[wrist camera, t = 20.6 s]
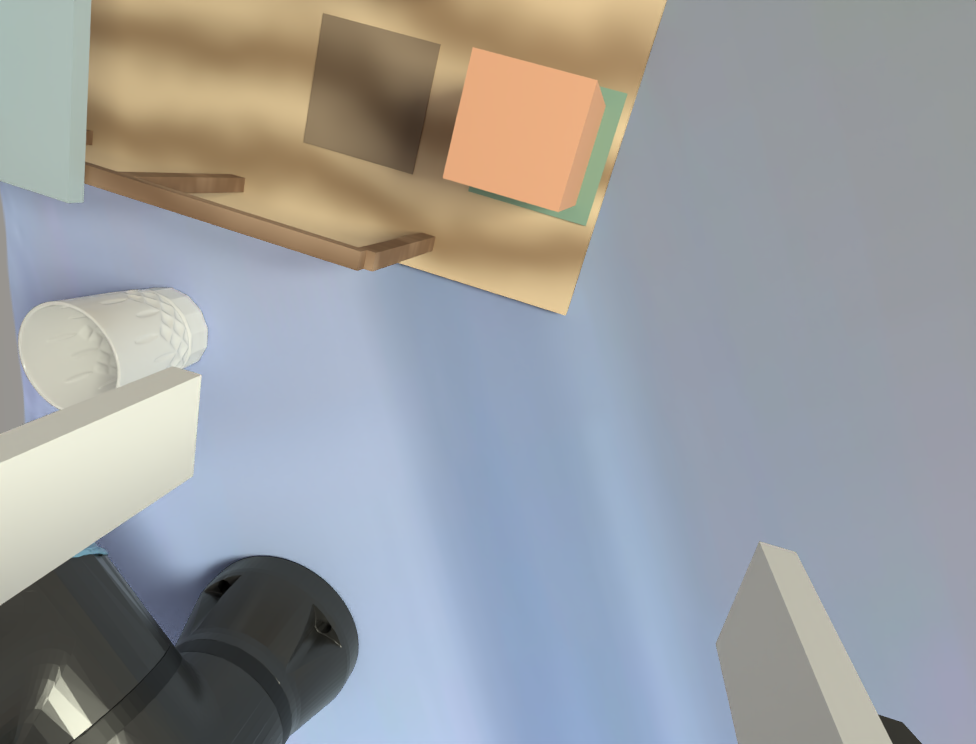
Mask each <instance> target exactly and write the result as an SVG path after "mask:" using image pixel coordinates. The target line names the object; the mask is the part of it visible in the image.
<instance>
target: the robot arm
mask: <svg viewBox="0 0 976 744" xmlns="http://www.w3.org/2000/svg"><path fill="white" fill-rule="evenodd" d="M200 387H201V375H200V374H197V373H194V372H190V371H187V370H184V369H180V368H177V367H174V366H172V367H169V368H167V369H164V370H162V371H159V372H156V373H154V374H151V375H149V376H146V377H144V378H141V379H138V380H136V381H133V382H131V383H128V384H126V385H123V386H120V387H118V388H115V389H113V390H110V391H108V392H105V393H103V394H100V395H97V396H95V397H92V398H90V399H87V400H85V401H82V402H79V403H77V404H74V405H72V406H69V407H67V408H64V409H62V410H59V411H56V412H54V413H51V414H49V415H46V416H44V417H41V418H38V419H36V420H33V421H31V422H28V423H26V424H23V425H21V426H18V427H15V428H13V429H10V430H8V431H5V432H3V433H0V744H285V743H286V741H287V740H288V738H289V736H290V735H292V734H293V733H294V732H295V731H296V730H298V729H299V728H300V727H301V726H302V725H304V724H305V723H306V722H307V721H308V720H310V719H311V718H312V717H313V716H314V715H316V714H317V713H318V712H319V711H320V710H322V709H323V708H324V707H325V706H326V705H328V704H329V703H330V702H331V701H332V700H333V699H334V698H335V697H336V696H337V695H338V693H339V692H340V691H341V690H342V688H343V686H344V685H345V683H346V681H347V679H348V678H349V676H350V674H351V673H352V671H353V669H354V666H355V664H356V661H357V657H358V645H359V644H358V635H357V630H356V626H355V623H354V621H353V618H352V616H351V614H350V612H349V610H348V608H347V606H346V605H345V603H344V602H343V600H342V599H341V598H340V596H339V595H338V594H337V593H336V592H335V590H334V589H333V588H332V587H331V586H330V585H329V584H328V583H326V582H325V581H324V580H323V579H322V578H320V577H319V576H318V575H316V574H315V573H313V572H312V571H310V570H308V569H307V568H305V567H303V566H301V565H298V564H296V563H294V562H291V561H288V560H284V559H280V558H275V557H266V556H258V557H250V558H245V559H242V560H239V561H237V562H235V563H233V564H231V565H229V566H228V567H226V568H225V569H224V570H223V571H222V572H221V573H220V574H219V575H218V576H217V577H216V578H214V579H213V580H212V581H211V582H210V583H209V584H208V585H207V587H206V588H205V589H204V590H203V592H202V593H201V595H200V596H199V598H198V600H197V602H196V604H195V606H194V608H193V611H192V613H191V615H190V617H189V619H188V621H187V623H186V625H185V627H184V629H183V631H182V633H181V635H180V637H179V639H178V641H177V643H176V645H175V647H174V645H173V644H172V643H171V641H170V640H169V638H168V637H167V636H166V634H165V633H164V632H163V630H162V629H161V628H160V626H159V625H158V624H157V623H156V621H155V620H154V619H153V617H152V616H151V615H150V613H149V612H148V611H147V609H146V608H145V607H144V605H143V604H142V603H141V601H140V600H139V598H138V597H137V596H136V594H135V593H134V592H133V590H132V589H131V588H130V586H129V585H128V584H127V582H126V581H125V580H124V578H123V577H122V576H121V574H120V573H119V571H118V570H117V569H116V567H115V566H114V565H113V563H112V562H111V561H110V559H109V558H108V557H107V556H108V552H107V551H106V550H105V549H103V548H101V547H99V546H98V545H97V544H96V543H95V542H96V541H97V540H99V539H100V538H101V537H103V536H104V535H106V534H107V533H109V532H110V531H112V530H113V529H115V528H116V527H118V526H119V525H121V524H122V523H124V522H125V521H127V520H128V519H130V518H131V517H133V516H134V515H136V514H137V513H139V512H140V511H142V510H143V509H145V508H146V507H148V506H149V505H151V504H152V503H154V502H155V501H157V500H158V499H160V498H161V497H163V496H164V495H166V494H167V493H169V492H170V491H172V490H173V489H175V488H176V487H178V486H179V485H181V484H182V483H184V482H185V481H187V480H188V479H190V478H191V477H193V471H194V459H195V447H196V435H197V423H198V411H199V399H200ZM716 647H717V652H718V656H719V661H720V665H721V670H722V674H723V679H724V683H725V688H726V692H727V696H728V701H729V705H730V710H731V714H732V719H733V723H734V728H735V732H736V737H737V741H738V744H922V743H921V742H920V741H919V740H918V739H917V738H916V737H915V736H914V735H913V733H912V732H911V731H910V730H909V729H908V728H907V727H906V726H905V725H904V724H903V722H899V721H896V720H893V719H890V718H887V717H884V716H881V715H878V714H877V712H876V710H875V708H874V706H873V704H872V702H871V700H870V698H869V696H868V694H867V692H866V690H865V688H864V686H863V684H862V682H861V680H860V678H859V676H858V674H857V672H856V670H855V668H854V666H853V664H852V662H851V660H850V658H849V656H848V654H847V652H846V650H845V648H844V646H843V644H842V642H841V640H840V639H839V637H838V635H837V633H836V631H835V629H834V627H833V625H832V623H831V621H830V619H829V617H828V615H827V613H826V611H825V609H824V607H823V605H822V603H821V601H820V599H819V597H818V595H817V593H816V591H815V589H814V587H813V585H812V583H811V581H810V579H809V577H808V575H807V573H806V571H805V569H804V567H803V565H802V563H801V561H800V559H799V557H798V555H797V553H796V552H793V551H790V550H787V549H783V548H780V547H776V546H773V545H770V544H766V543H763V542H760V541H759V543H758V546H757V548H756V550H755V553H754V555H753V557H752V560H751V562H750V564H749V567H748V569H747V571H746V574H745V576H744V579H743V581H742V583H741V586H740V588H739V590H738V593H737V595H736V597H735V600H734V602H733V604H732V607H731V609H730V611H729V614H728V616H727V618H726V621H725V623H724V625H723V628H722V630H721V633H720V635H719V637H718V640H717V642H716Z"/></svg>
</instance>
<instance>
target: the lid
mask: <svg viewBox="0 0 976 744" xmlns="http://www.w3.org/2000/svg"><path fill="white" fill-rule="evenodd" d="M90 23H91V0H0V181H2V182H5V183H8V184H11V185H14V186H17V187H20V188H23V189H26V190H29V191H32V192H35V193H38V194H42V195H45V196H48V197H51V198H54V199H57V200H60V201H63V202H66V203H83V201H84V176H85V150H86V125H87V99H88V74H89V48H90Z"/></svg>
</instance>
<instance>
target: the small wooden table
mask: <svg viewBox="0 0 976 744" xmlns="http://www.w3.org/2000/svg"><path fill="white" fill-rule="evenodd" d="M666 2H667V0H91V23H90V48H89V74H88V99H87V125H86V150H85V176H84V183H85V184H88V185H91V186H94V187H97V188H101V189H104V190H107V191H110V192H113V193H116V194H119V195H122V196H126V197H129V198H132V199H135V200H138V201H141V202H144V203H147V204H151V205H154V206H157V207H160V208H163V209H166V210H169V211H172V212H176V213H179V214H182V215H185V216H188V217H191V218H194V219H197V220H201V221H204V222H207V223H210V224H213V225H216V226H219V227H222V228H226V229H229V230H232V231H235V232H238V233H241V234H244V235H247V236H251V237H254V238H257V239H260V240H263V241H266V242H269V243H272V244H276V245H279V246H282V247H285V248H288V249H291V250H294V251H297V252H301V253H304V254H307V255H310V256H313V257H316V258H319V259H322V260H326V261H329V262H332V263H335V264H338V265H341V266H344V267H347V268H351V269H354V270H357V271H358V270H361V269H366V270H369V271H375V270H378V269H381V268H384V267H387V266H390V265H393V264H396V263H401V264H404V265H407V266H410V267H413V268H417V269H420V270H423V271H426V272H429V273H432V274H436V275H439V276H442V277H445V278H448V279H451V280H455V281H458V282H461V283H464V284H467V285H470V286H474V287H477V288H480V289H483V290H486V291H489V292H493V293H496V294H499V295H502V296H505V297H508V298H512V299H515V300H518V301H521V302H524V303H527V304H531V305H534V306H537V307H540V308H543V309H546V310H550V311H553V312H556V313H559V314H562V315H566V313H567V311H568V308H569V305H570V302H571V298H572V295H573V292H574V289H575V286H576V283H577V280H578V277H579V273H580V270H581V267H582V264H583V261H584V258H585V255H586V252H587V248H588V245H589V242H590V239H591V236H592V233H593V230H594V227H595V223H596V220H597V217H598V214H599V211H600V208H601V205H602V202H603V198H604V195H605V192H606V189H607V186H608V183H609V180H610V177H611V174H612V170H613V167H614V164H615V161H616V158H617V155H618V152H619V149H620V145H621V142H622V139H623V136H624V133H625V130H626V127H627V124H628V120H629V117H630V114H631V111H632V108H633V105H634V102H635V99H636V95H637V92H638V89H639V86H640V83H641V80H642V77H643V74H644V71H645V67H646V64H647V61H648V58H649V55H650V52H651V49H652V46H653V42H654V39H655V36H656V33H657V30H658V27H659V24H660V21H661V17H662V14H663V11H664V8H665V5H666ZM473 47H474V48H478V49H482V50H486V51H489V52H493V53H497V54H501V55H504V56H508V57H512V58H516V59H519V60H523V61H527V62H531V63H535V64H538V65H542V66H546V67H550V68H553V69H557V70H561V71H565V72H568V73H572V74H576V75H580V76H584V77H587V78H591V79H595V80H598V83H599V86H601V87H605V88H608V89H612V90H616V91H620V92H623V93H627V97H626V100H625V104H624V107H623V110H622V113H621V116H620V119H619V123H618V126H617V129H616V132H615V135H614V138H613V142H612V145H611V148H610V151H609V154H608V157H607V161H606V164H605V167H604V170H603V173H602V176H601V180H600V183H599V186H598V189H597V192H596V195H595V199H594V202H593V205H592V208H591V211H590V214H589V218H588V221H587V224H586V226H584V225H581V224H577V223H574V222H570V221H567V220H564V219H560V218H557V217H553V216H550V215H547V214H543V213H540V212H537V211H533V210H530V209H526V208H523V207H520V206H516V205H513V204H510V203H506V202H503V201H499V200H496V199H493V198H489V197H486V196H483V195H479V194H476V193H472V192H469V191H468V190H469V186H468V185H464V184H461V183H458V182H454V181H451V180H447V179H444V178H443V174H444V169H445V165H446V161H447V156H448V152H449V148H450V143H451V139H452V135H453V130H454V126H455V122H456V117H457V113H458V109H459V104H460V100H461V96H462V91H463V87H464V83H465V78H466V74H467V70H468V65H469V61H470V57H471V52H472V48H473Z"/></svg>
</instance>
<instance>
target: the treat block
mask: <svg viewBox="0 0 976 744" xmlns="http://www.w3.org/2000/svg"><path fill="white" fill-rule="evenodd" d="M605 107H606V105H605V102H604V99H603V96H602V93H601V90H600V86H599V83H598V80H595V79H591V78H587V77H584V76H580V75H576V74H572V73H568V72H565V71H561V70H557V69H553V68H550V67H546V66H542V65H538V64H535V63H531V62H527V61H523V60H519V59H516V58H512V57H508V56H504V55H501V54H497V53H493V52H489V51H486V50H482V49H478V48H474V47H473V48H472V52H471V57H470V61H469V65H468V70H467V74H466V78H465V83H464V87H463V91H462V96H461V100H460V104H459V109H458V113H457V117H456V122H455V126H454V130H453V135H452V139H451V143H450V148H449V152H448V156H447V161H446V165H445V169H444V174H443V178H444V179H447V180H451V181H454V182H458V183H461V184H464V185H468V186H471V187H475V188H478V189H481V190H485V191H488V192H492V193H495V194H498V195H502V196H505V197H509V198H512V199H515V200H519V201H522V202H526V203H529V204H532V205H536V206H539V207H542V208H546V209H549V210H553V211H556V212H560V211H562V210H565V209H567V208H570V207H573V206H575V205H576V202H577V198H578V195H579V192H580V189H581V185H582V182H583V179H584V176H585V172H586V169H587V166H588V163H589V159H590V156H591V153H592V150H593V146H594V143H595V140H596V136H597V133H598V130H599V127H600V123H601V120H602V117H603V114H604V110H605Z"/></svg>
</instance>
